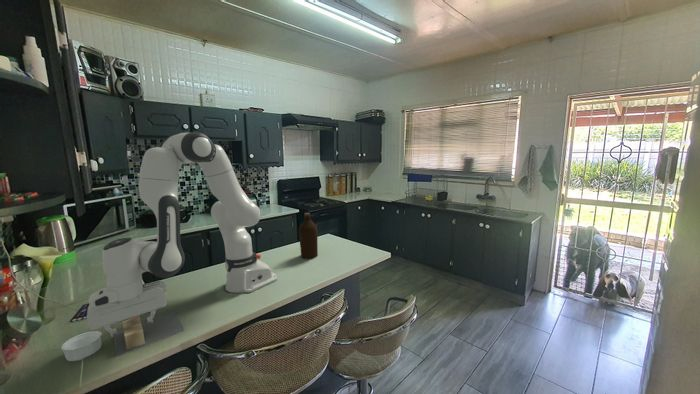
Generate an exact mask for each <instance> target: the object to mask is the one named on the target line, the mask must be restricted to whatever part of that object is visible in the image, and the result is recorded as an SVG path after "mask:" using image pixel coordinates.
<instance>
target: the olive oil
mask: <svg viewBox="0 0 700 394" xmlns="http://www.w3.org/2000/svg"><path fill="white" fill-rule="evenodd" d="M303 215H304V216H303V218H304V219H303V221H302V222H301V223H300V224H299V227H298V237H299V238H298V239H299V247H300V255H301V256H300V257H301V258H303V259H307V260H309V259H311V260H312V259H314V258H317V257H318V255H319V254H318V253H319V251H318V227H317V224H316V223H315V222H314V221H312V219H311V213H310V212H304V214H303Z"/></svg>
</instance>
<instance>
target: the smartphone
mask: <svg viewBox="0 0 700 394" xmlns="http://www.w3.org/2000/svg"><path fill="white" fill-rule="evenodd" d="M88 307H89V302H87V303H84V304H82V305H81V306H80V307H79V309H78V310H77V311H76V312H75V313H74V314H73V315H72V317H71V318H70V319H69V321H68V324H73V323H79V322H81V321H82V322H84V321H87V311H88Z"/></svg>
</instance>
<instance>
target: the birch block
mask: <svg viewBox="0 0 700 394" xmlns="http://www.w3.org/2000/svg"><path fill="white" fill-rule="evenodd" d="M121 322H122V328H123V329H124V336H125V342H126V348H127V350H130V349H132V348H135V347H137V346H140V345H143V344H145V340H144V334H143V329H142V325H141V323H142V322H141V318H140V315H138V316H135V317H131V318H128V319H125V320H122V321H121Z"/></svg>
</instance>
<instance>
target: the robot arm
mask: <svg viewBox="0 0 700 394" xmlns="http://www.w3.org/2000/svg"><path fill="white" fill-rule="evenodd" d="M194 163H197V164H198V166H199V167H200V168H201V171H202V174H203V176H204V178H205V181H206V183H207V187H208V188H209V190H210V192H211V194H212V195H213V196H214V197H215V198H216V199H217V200H218V201H216V202H215V203H213V205H212V206H211V209H210V215H211V217H212V219H213V220H214V221H215V222H216V224H217V226H218V228H219V231H220V233H221V236H222V240H223V243H224V251H225V257H224V261H225V262H224V264H225V270H226V282H225V286H224V287H225V288H224V289H225V291H226V292H228V293H233V294H235V293H252V292H255V291H257V290H259V289H261V288H263V287H265V286H267V285H270V284H272V283H274V282H275V281H276V282H277V280H278V275H277V274H276V273H274V272H273V271H272V269H271V267H270V265H268V264H267V263H265V262H263V261H261V260H260V259H261V258H262V255H261V254H259V253H256V252H254V251H253V244H252V237H251V235H250V233H249V232H248V231H247V229H246V228H250V227H253V226H255V225H257V224H258V223H259V222H260V219H261V209H260V207H259V206H258V205H256V204H255V203H254V202H253V201H252V200H251V199H250V198H249V197H248V196H247V194H246V193H245V191H244V190H243V188H242V187H241V185H240V183H239V180H238V178H237V176H236V173H235V171H234V167H233V165H232V163H231V160H230V158H229V157H228V154H227V153H226V152H225V150H224V149H223V147H222V146H221V145H218V144H215V143H213V141H212V140H211V139H210V137H209V136H207V135H206V134H204V133H201V132H198V131H191V132H180V133H178V134H172V135H169V136H167V137H166V138H164V139H163V141H162V142H161V143H160V145H159V146H156V147H152V148H149V149H147V150H146V151H145V152H144V154H143V158H142V162H141V165H140V169H139V176H138V177H139V178H138V192H139V197H140V199H141V200H142V202H143V203H144V204H145V205H147V206H148V207H149V208H150V209H151V211H152V212H153V214H154V216H155V219H156V241H153V240H151V241H150V240H149V241H146V240H139V239H136V238H135V239H134V238H132V237H122V238H121V237H120V238H117V239H115V240H113V241H110V242H108V243H107V244H105V245H104V247H103V249H102V254H101V261H102V269H103V270H102V271H103V273H104V275H105V278H106V282H105V283H106V284H105V285H106V286H105V287H103V288H101V289H99V290H98V291H96V292H93V293H91V295H90V296H89V299H88V303H89V307H88V311H87V320H86V326H87V329H88V330H90V331H94V330H95V331H96V330H97V329H100V328H103V327H104V330H105V331H106V332H108V333H109V334H110V338H114V336H116V335H117V331H118V330H117V328H112V327H111V325H112V324H116V323H119V322H123V321H122V320H125V319H128V318H131V317H135V316H138V315H139V316H140V315H144V314H146V313H149V312H150V314H149V316H147V317H146V321H147V323H148V324H151V323H153V319H154V318H155V316H156V311H157V310H158V309H159V310H160V309H162V308H165V307H166V305H168V300H167V296H166V293H165V291H166V289H167V286H166V283H165V281H161V280H155V281H152V282H148V283H144V282H143V273H146V272H149V273H151V274H152V275H153V276H155V277H156V278H161V279H165V278H166V279H167V278H169V277H173V276H175V275H176V274H177V273H179V271H180V270H181V269H182V268H183V266H184V264H185V260H186V256H185V252H184V250H183V247H182V243H181V215H180V214H181V211H180V205H179V204H180V203H179V196H178V195H179V194H178V193H179V192H178V190H179V172H180V170H181V167H182V166H183V164H186V165H187V164H194Z"/></svg>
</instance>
